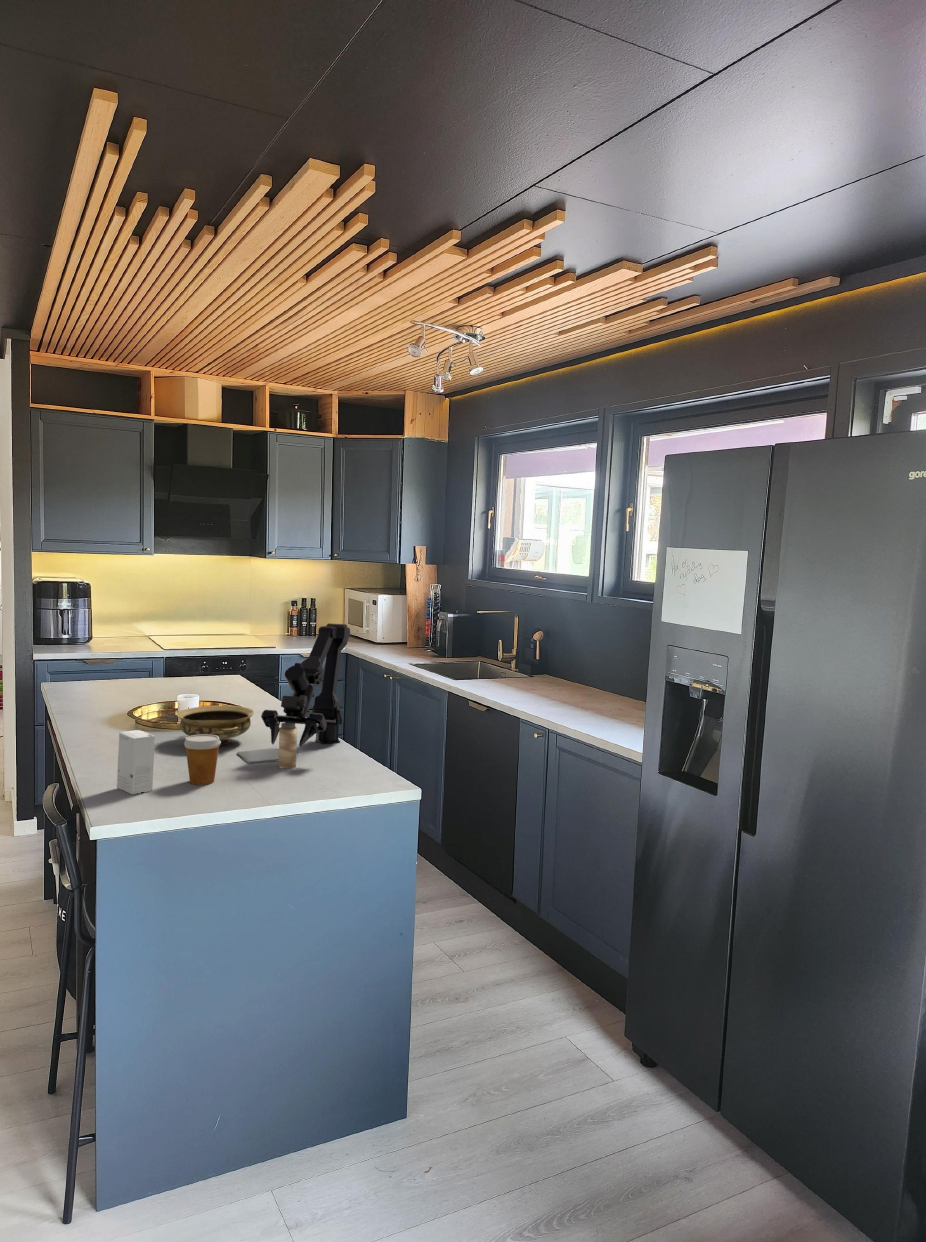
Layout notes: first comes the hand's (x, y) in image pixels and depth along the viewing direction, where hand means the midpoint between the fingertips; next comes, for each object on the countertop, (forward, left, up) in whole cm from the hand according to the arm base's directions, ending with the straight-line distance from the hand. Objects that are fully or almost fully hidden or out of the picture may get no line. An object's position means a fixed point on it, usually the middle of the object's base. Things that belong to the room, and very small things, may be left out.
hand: (286, 744), depth 242 cm
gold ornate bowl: (+11, -37, -7) cm, 39 cm away
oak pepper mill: (-1, -1, -7) cm, 7 cm away
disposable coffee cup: (+25, +6, -7) cm, 27 cm away
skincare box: (+42, +7, -7) cm, 43 cm away
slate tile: (+2, -14, -7) cm, 16 cm away
